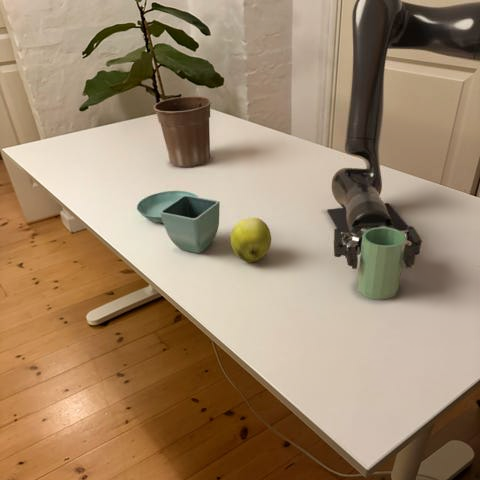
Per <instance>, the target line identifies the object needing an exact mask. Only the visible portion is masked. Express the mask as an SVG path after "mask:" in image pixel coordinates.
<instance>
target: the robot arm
mask: <svg viewBox="0 0 480 480" xmlns="http://www.w3.org/2000/svg"><path fill="white" fill-rule="evenodd" d="M351 12H352V13H351V25H352V26H351V27H352V77H351V90H350V99H349V107H348V117H347V122H346V124H347V125H346V133H345V141H344V153H346V154H347V155H348V156H352V157H354V158H359V159H361V160H362V161H363V162H364V164H365V168H359V167H358V168H357V167H343V168H342V167H341V168H340V169H338V170H337V171H336V172H335V173H334V175H333V177H332V179H331V193H332V196H333V198H334V199H335V201H336V202H337V203H338V205H340V206H341V208H344V209H345V210H346V219H347V225H348V227H349V231H350V232H349V233H344V232H341V229H339V228H334V231H333V256H334V257H335V258H341V257H342V256H344V258H345V259H346V263H347V266H348V267H351V269H352V270H357V269H358V261H359V257H358V256H359V255H361V245H362V236H363V233H364V232H365V231H367V230H369V229H372V228H377V227H388V228H393V229H396V228H394V227H393V224H392V221H391V218H390V216H389V213H388V211H387V209H386V206H385V204H384V201H383V199H382V198H381V194H382V190H383V178H382V172H381V164H380V163H381V162H380V142H381V136H382V135H381V134H382V127H383V120H384V105H385V103H384V100H385V99H384V95H385V94H384V91H385V89H384V88H385V69H386V62H387V61H386V60H387V55H388V50H415V51H425V52H429V53H432V54H433V53H434V54H437V55H441V56H445V57H450V58H455V59H459V60H466V61H471V62H476V63H480V1H471V2H465V3H464V2H463V3H460V4H453V5H448V6H426V5H421V4H416V3H411V2H407V1H403V0H355V3H354V4H353V8H352V11H351ZM407 226H408V227H407V228H406V231H401V232H403V233H404V235H405V236H406V242H405V248H404V254H403V260H402V263H403V264H404V267H405V268H406V269H411V268H412V266H413V265H414V264H415V260H416V256H419V255H420V254H421V247H422V243H423V240H422V238H421V237H420V235H419V233H418V232H417V230H416V229H415V227H414V226H412V225H407ZM346 240H349V242H348V243H347V244H344V243H345V241H346Z"/></svg>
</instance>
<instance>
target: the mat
mask: <svg viewBox="0 0 480 480" xmlns="http://www.w3.org/2000/svg"><path fill="white" fill-rule="evenodd" d="M383 203H384V202H383ZM384 204H385V206H386V209H387V211H388V213H389V216H390V218H391V221H392V224H393V227H394V228H396V229H397V230H399V231H406V228H407V227H408V226H409V225H408V224H407V223H406V222H405V221H404V220H403V219H402V218H401V216H400V215H399V213H398V212H396V210H395V209H394V208H393V207H392V206H391V204H390V203H389V202H385V203H384ZM326 211H327V214H328V215H329V217H330V219H331V221H332V222H333V224H334V226H335V227H336V228H335V229H337V228H339V229H341V232H344V233H349V232H350V231H349V227H348V225H347V219H346V210H345V209H344V208H343V207H338V208H329V209H328V208H327V210H326ZM348 242H349V240H346V241H345V242H344V245H346V244H347V243H348Z"/></svg>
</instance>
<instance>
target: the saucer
mask: <svg viewBox="0 0 480 480" xmlns="http://www.w3.org/2000/svg"><path fill="white" fill-rule="evenodd" d="M184 195H188V196H193V197H199V196H198V195H197V194H195V193H193V192H190V191H187V190H186V191H185V190H168V191H160V192H156V193H153V194H150V195H147V196H146V197H144V198H142V199H141V200H139V202H138V203H137V204H136V210H137V212H138V213H139V214H140V215H141V216H142V217H144V218H146V219H147V220H149V221H151V222H154V223H158V224H159V223H160V224H164V223H163V220H162V217H161V214H160V212H161V211H162V210H163V209H165V208H166V207H168V206H169V205H171V204H172V203H174V202H175V201H177V200H178V199H179V198H181V197H182V196H184Z"/></svg>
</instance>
